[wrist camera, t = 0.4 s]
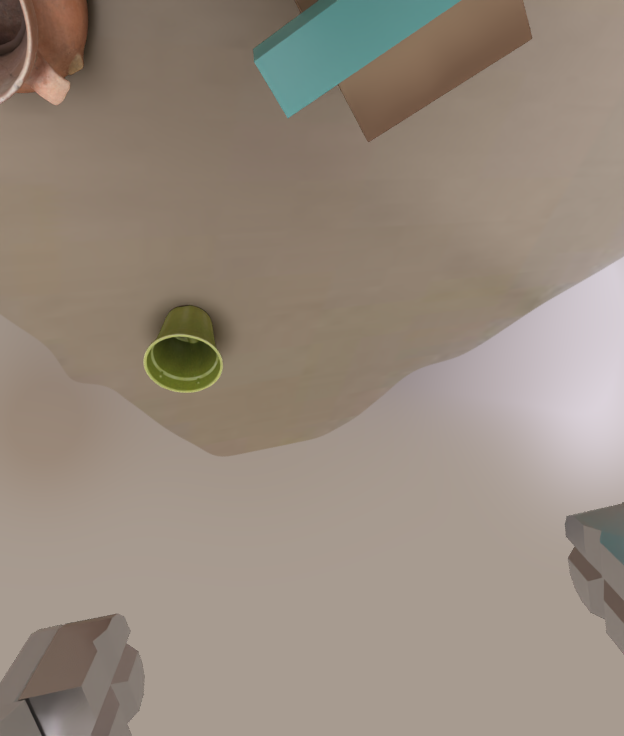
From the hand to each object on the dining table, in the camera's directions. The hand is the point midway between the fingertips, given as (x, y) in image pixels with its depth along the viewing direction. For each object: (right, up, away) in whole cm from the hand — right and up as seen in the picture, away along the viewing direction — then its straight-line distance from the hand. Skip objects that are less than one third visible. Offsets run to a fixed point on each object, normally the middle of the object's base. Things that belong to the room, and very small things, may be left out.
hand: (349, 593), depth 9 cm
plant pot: (-17, +10, +60) cm, 64 cm away
